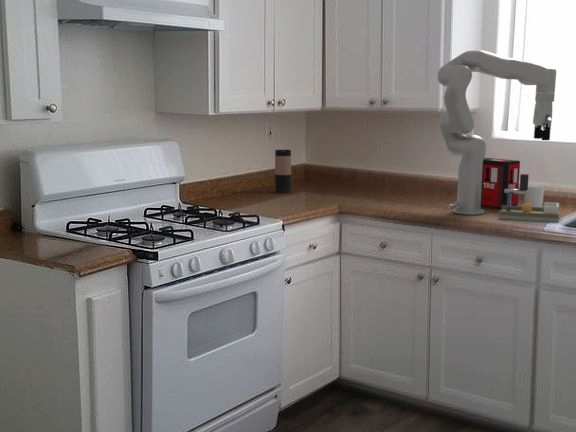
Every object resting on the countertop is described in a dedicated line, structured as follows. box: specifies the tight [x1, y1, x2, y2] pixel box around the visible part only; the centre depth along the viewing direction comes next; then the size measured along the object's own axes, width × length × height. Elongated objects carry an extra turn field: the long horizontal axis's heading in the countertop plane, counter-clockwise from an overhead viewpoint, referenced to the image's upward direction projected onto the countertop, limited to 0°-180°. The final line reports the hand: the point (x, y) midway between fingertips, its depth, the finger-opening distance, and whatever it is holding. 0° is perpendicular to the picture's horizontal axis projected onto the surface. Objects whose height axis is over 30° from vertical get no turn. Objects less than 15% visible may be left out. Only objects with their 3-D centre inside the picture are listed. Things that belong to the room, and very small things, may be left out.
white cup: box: [524, 184, 545, 207], centre depth 331 cm, size 8×8×10 cm
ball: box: [521, 202, 532, 213], centre depth 313 cm, size 4×4×4 cm
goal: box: [543, 201, 560, 215], centre depth 311 cm, size 6×11×4 cm, turn 161°
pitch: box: [498, 205, 560, 223], centre depth 313 cm, size 22×16×3 cm
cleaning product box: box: [481, 157, 521, 210], centre depth 338 cm, size 16×9×20 cm, turn 43°
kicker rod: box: [504, 173, 530, 211], centre depth 314 cm, size 9×6×15 cm
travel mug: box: [274, 149, 292, 194], centre depth 377 cm, size 8×8×20 cm
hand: (541, 139), depth 332 cm, fingers open, 9 cm apart
